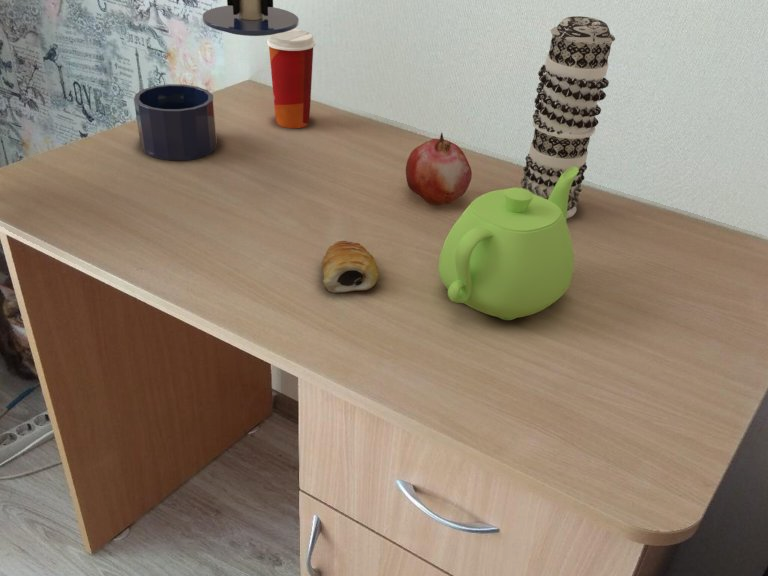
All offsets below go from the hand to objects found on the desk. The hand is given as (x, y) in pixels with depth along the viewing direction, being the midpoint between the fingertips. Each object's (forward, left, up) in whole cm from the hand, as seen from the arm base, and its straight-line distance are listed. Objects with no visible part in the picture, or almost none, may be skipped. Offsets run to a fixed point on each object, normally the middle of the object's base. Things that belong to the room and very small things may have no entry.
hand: (250, 11), depth 99 cm
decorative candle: (+41, -10, -23) cm, 48 cm away
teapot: (+29, -32, -23) cm, 49 cm away
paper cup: (+6, +22, -23) cm, 32 cm away
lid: (0, 0, -1) cm, 1 cm away
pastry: (+10, -28, -23) cm, 37 cm away
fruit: (+25, -7, -23) cm, 35 cm away
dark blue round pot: (-12, +12, -23) cm, 28 cm away
